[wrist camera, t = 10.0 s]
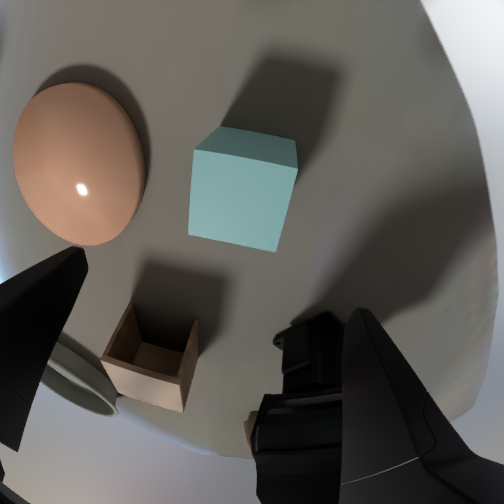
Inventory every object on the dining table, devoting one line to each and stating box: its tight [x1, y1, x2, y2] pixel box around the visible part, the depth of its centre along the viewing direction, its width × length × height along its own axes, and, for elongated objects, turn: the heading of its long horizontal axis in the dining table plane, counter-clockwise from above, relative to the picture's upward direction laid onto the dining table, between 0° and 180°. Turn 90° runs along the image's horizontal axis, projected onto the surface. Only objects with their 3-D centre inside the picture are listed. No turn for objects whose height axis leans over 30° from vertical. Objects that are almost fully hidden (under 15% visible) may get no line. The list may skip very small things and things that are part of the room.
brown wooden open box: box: [101, 303, 199, 413], centre depth 25 cm, size 7×7×7 cm
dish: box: [13, 82, 145, 245], centre depth 17 cm, size 13×13×1 cm
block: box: [188, 126, 298, 252], centre depth 15 cm, size 4×4×5 cm
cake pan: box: [40, 342, 118, 417], centre depth 40 cm, size 25×25×4 cm
